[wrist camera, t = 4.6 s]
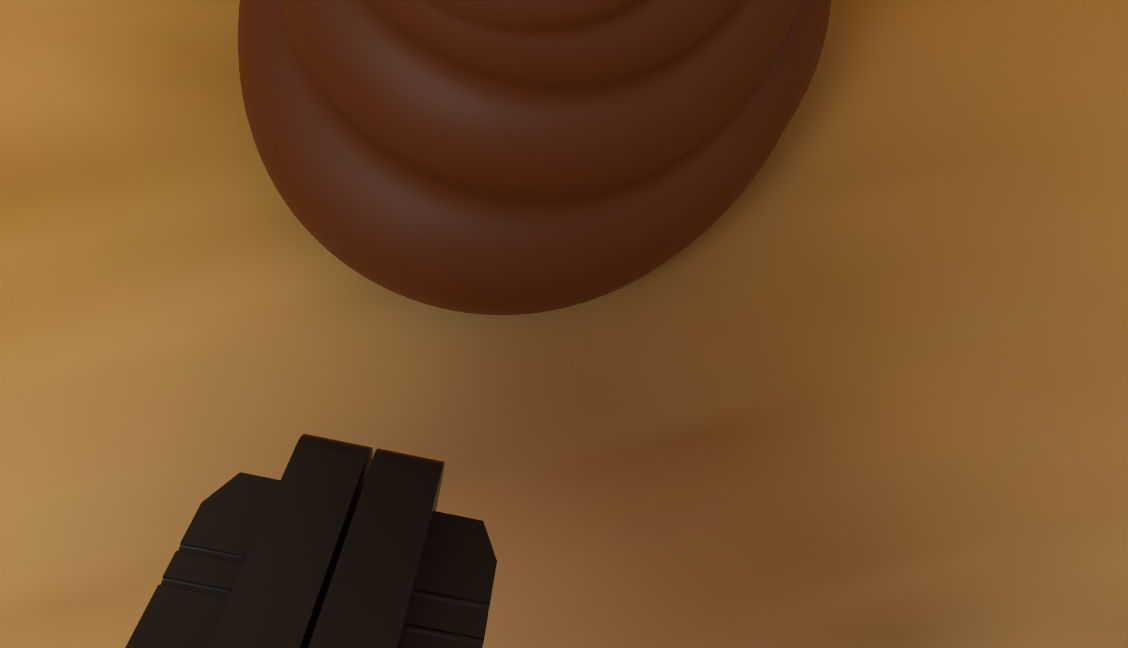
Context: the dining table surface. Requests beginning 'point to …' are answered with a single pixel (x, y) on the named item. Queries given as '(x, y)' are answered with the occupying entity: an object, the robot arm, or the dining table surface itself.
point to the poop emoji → (518, 133)
